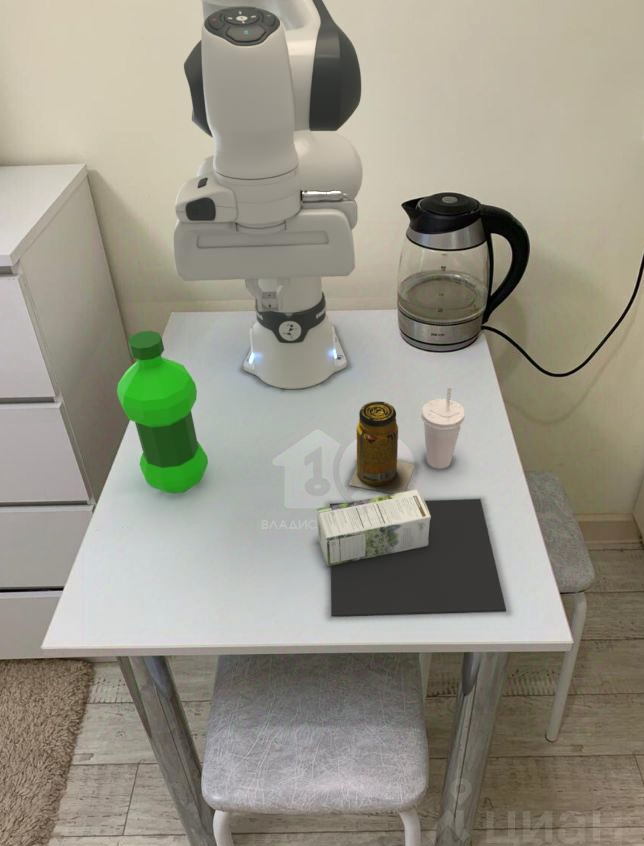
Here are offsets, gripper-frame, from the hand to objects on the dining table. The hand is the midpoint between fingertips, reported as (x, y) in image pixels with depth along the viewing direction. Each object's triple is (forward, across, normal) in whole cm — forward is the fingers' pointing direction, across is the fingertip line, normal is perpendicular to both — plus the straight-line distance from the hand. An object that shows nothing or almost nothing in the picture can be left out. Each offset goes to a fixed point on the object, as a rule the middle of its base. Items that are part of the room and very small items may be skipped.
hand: (270, 309), depth 86 cm
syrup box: (+28, -5, +12) cm, 31 cm away
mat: (+31, -17, +12) cm, 37 cm away
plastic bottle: (+31, +17, -4) cm, 36 cm away
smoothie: (+31, -23, -7) cm, 39 cm away
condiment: (+31, -14, -4) cm, 34 cm away
